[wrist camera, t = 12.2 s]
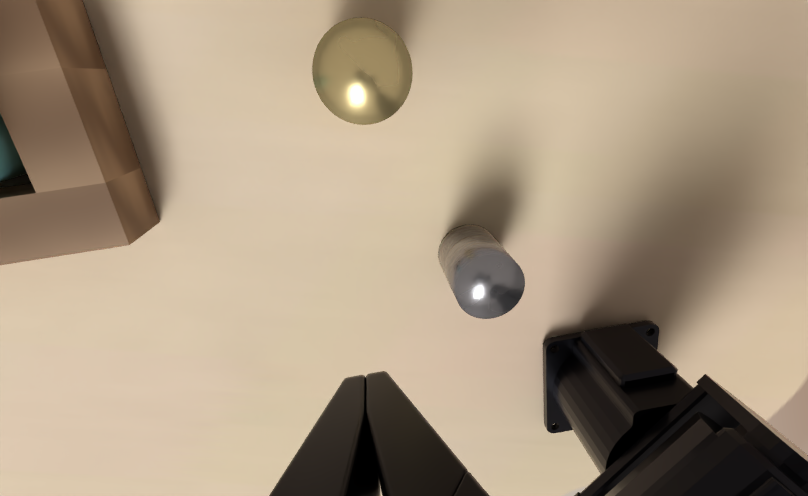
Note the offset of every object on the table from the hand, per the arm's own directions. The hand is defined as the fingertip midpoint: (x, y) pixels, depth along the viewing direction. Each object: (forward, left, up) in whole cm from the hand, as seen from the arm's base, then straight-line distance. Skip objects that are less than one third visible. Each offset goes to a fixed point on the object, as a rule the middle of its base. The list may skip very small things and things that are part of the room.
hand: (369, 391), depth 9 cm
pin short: (-3, -5, -13) cm, 14 cm away
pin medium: (+6, -1, -13) cm, 14 cm away
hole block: (+5, +13, -13) cm, 20 cm away
